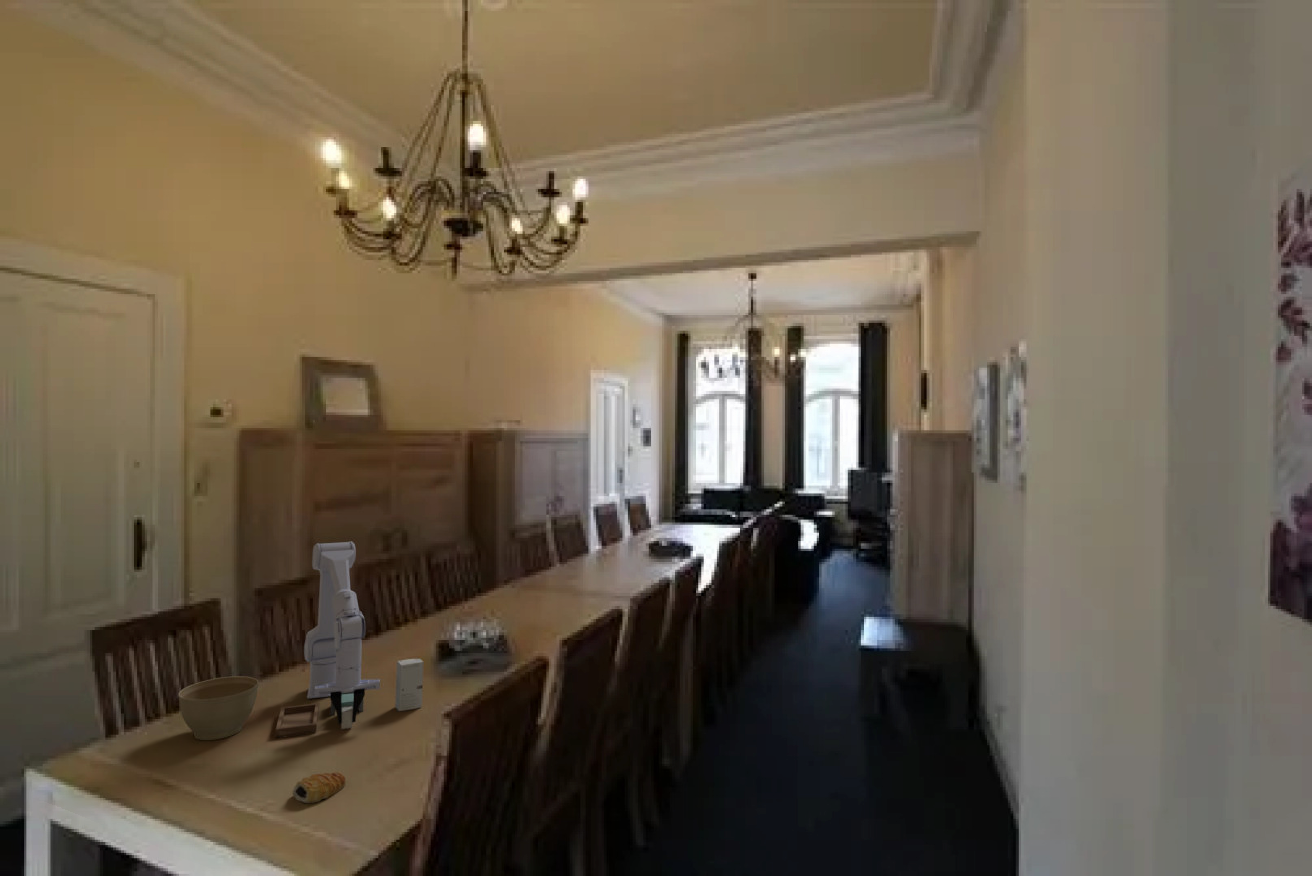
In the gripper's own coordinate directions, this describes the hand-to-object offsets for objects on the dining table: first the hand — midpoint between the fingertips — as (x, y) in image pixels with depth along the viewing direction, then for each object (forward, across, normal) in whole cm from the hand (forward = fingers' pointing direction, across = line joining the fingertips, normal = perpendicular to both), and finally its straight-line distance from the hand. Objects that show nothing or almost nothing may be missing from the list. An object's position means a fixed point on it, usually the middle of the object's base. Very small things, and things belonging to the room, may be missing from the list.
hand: (346, 721), depth 167 cm
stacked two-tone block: (+1, 0, +4) cm, 5 cm away
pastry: (+2, -5, -33) cm, 33 cm away
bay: (+1, 0, +12) cm, 13 cm away
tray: (+1, -11, +6) cm, 13 cm away
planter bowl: (+2, -28, +8) cm, 29 cm away
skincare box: (+2, +15, +8) cm, 17 cm away
